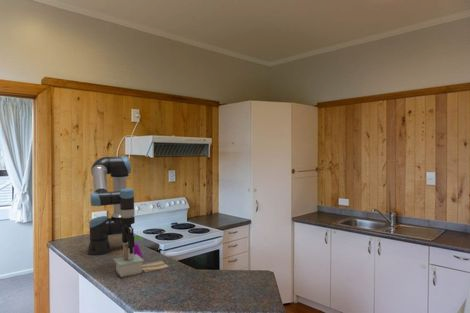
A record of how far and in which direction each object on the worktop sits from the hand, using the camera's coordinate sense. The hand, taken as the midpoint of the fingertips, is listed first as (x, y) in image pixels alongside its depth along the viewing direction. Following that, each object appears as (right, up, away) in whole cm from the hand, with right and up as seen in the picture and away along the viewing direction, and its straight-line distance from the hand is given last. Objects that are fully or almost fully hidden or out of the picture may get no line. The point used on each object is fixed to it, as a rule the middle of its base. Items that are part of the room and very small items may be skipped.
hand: (128, 256), depth 177 cm
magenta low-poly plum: (-4, -9, +20) cm, 22 cm away
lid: (0, -3, 0) cm, 3 cm away
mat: (+12, -8, +8) cm, 16 cm away
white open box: (0, -9, 0) cm, 9 cm away
